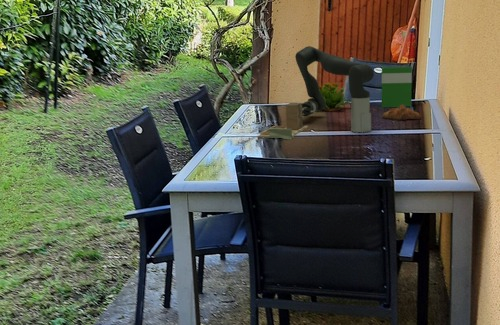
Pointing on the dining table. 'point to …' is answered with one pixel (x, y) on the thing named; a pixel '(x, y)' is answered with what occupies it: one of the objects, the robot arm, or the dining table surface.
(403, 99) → the hardback book
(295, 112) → the walnut block
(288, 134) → the tray
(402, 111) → the pastry
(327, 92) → the green leafy plant
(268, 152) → the dining table surface
